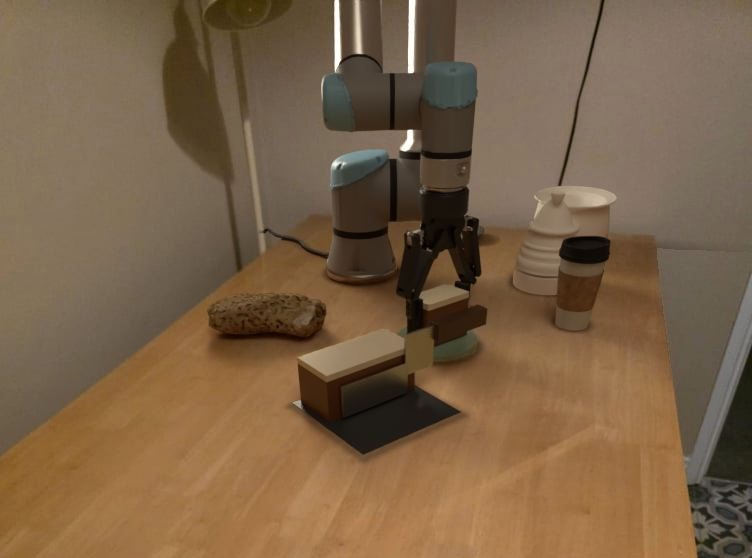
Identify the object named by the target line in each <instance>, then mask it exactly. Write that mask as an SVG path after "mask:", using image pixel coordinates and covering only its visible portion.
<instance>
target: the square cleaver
mask: <svg viewBox="0 0 752 558" xmlns="http://www.w3.org/2000/svg"><path fill="white" fill-rule="evenodd" d="M487 320H488V308H487V307H485V306H483V305H480V304H474V305H471V306H468V308H465V309H462V310H460V311H457V312H454V313H451V314H448V315H445V316H442V317H439V318H436V319H433V320H430V321H429V326H428V327H425V328H422V329H419V330H416V331H413V332H410V333H407V334H405V335H404V363H402V364H399V365H396V366H394V367H391V368H388V369H386V370H383V371H380V372H378V373H375V374H372V375H370V376H367V377H364V378H361V379H359V380H356V381H353V382H351V383H348V384H345V385H343V386H340V390H341V410H342V418H345V417H348V416H350V415H353V414H355V413H358V412H360V411H363V410H365V409H368V408H370V407H373V406H375V405H378V404H380V403H383V402H385V401H388V400H390V399H393V398H395V397H398V396H400V395H403V394H405V393H407V381H408V375H409V374H411V373H414V372H415V373H417V372H419V371H422V370H424V369H426V368H429V367H432V366H433V365H434V360H433V350H434V340H435V341H437V342H439V341H442V340H445V339H447V338H450V337H453V336H456V335H458V334H461V333H464V332H467V331H469V330H472V331H473V330H475V329H477V328H481V327H483V326H486V325H487Z"/></svg>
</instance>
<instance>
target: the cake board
mask: <svg viewBox="0 0 752 558" xmlns="http://www.w3.org/2000/svg"><path fill="white" fill-rule="evenodd" d="M292 404H293V405H294V406H295V407H297V408H298V409H300V410H301V411H302V412H303V413H305V414H306V415H308V416H309V417H310V418H312V419H313V420H315V421H316V422H318V423H319V424H320V425H322V426H323V427H324V428H325V429H327V430H328V431H329V432H331V433H332V434H333V435H335V436H336V437H337V438H339V439H340V440H342V441H343V442H345V443H346V444H348V445H349V446H351V447H352V449H354V450H356V451H357V452H359V454H361V455H363V456H365V455H367V454H369V453H372V452H374V451H376V450H379V449H380V448H384V447H386V446H387V445H390V444H392V443H394V442H396V441H399V440H401V439H403V438H405V437H408V436H411V435H413V434H416V433H417V432H419V431H421V430H424V429H426V428H428V427H431V426H433V425H436V424H438V423H440V422H442V421H444V420H446V419H449V418H451V417H453V416H456V415H458V414H461V413H462V411H461V410H460V409H457V408H456V407H454V406H452V405H451V404H449V403H447V402H445V401H443V400H442V399H440V398H438V397H436V396H435V395H433V394H431V393H430V392H428V391H426V390H424V389H422V388H421V387H419V386H417V385H415V384H414V390H411V391H409V392H407V393H405V394H403V395H400V396H398V397H395V398H393V399H390V400H388V401H385V402H383V403H380V404H378V405H375V406H373V407H370V408H368V409H365V410H363V411H360V412H358V413H355V414H353V415H350V416H348V417H345V418H341V419H339V420H336V421H334V422H331V423H328V422H327V421H325V420H324V419H323V418H321V417H320V416H319V415H317V414H316V413H314V412H313V411H312V410H310V409H309V408H307V407H306V406H305V405H303V404H302V403H301V399H298V400H296V401H293V402H292Z"/></svg>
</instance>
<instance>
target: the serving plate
mask: <svg viewBox="0 0 752 558" xmlns="http://www.w3.org/2000/svg"><path fill="white" fill-rule="evenodd" d="M396 334H397V335H399V336H400V337H402V338H404V335H405V334H407V326H405V327H403V328H402V329H400V330H399V331H398V332H397V333H396ZM478 341H479V338H478V336H477V334H476V332H475V331H473V329H472V330H469V331H467V335H464V336H461V337H459V338H456V339H453V340H450V341H448V342H445V343H442V344H440V345H437V346H434V350H433V362H435V361H436V362H437V361H439V362H443V361H453V360H458V359H461V358H464V357H466V356H473V355H474V354H475V353H476V352H477V348H478Z"/></svg>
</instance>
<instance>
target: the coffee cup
mask: <svg viewBox="0 0 752 558" xmlns="http://www.w3.org/2000/svg"><path fill="white" fill-rule="evenodd" d="M611 242H612V241H611V239H610V238H608V237H607V238H605V237H602V236H576V237H569V238H566V239H564V240H563V242H562V245H561V248H560V249H559V256H560V258H561V259H560V266H559V269H558V284H557V295H556V299H555V301H556V303H555V315H554V325H555V326H556V327H557V328H558V329H561V330H564V331H569V332H579V331H584V330H586V329H587V328H588V327H589V323H590V320H591V316H592V312H593V309H594V306H595V303H596V300H597V297H598V292H599V291H600V287H601V284H602V280H603V276H604V274H605V266H606V262H608V261H609V260H610V256H611V251H610V250H611Z"/></svg>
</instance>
